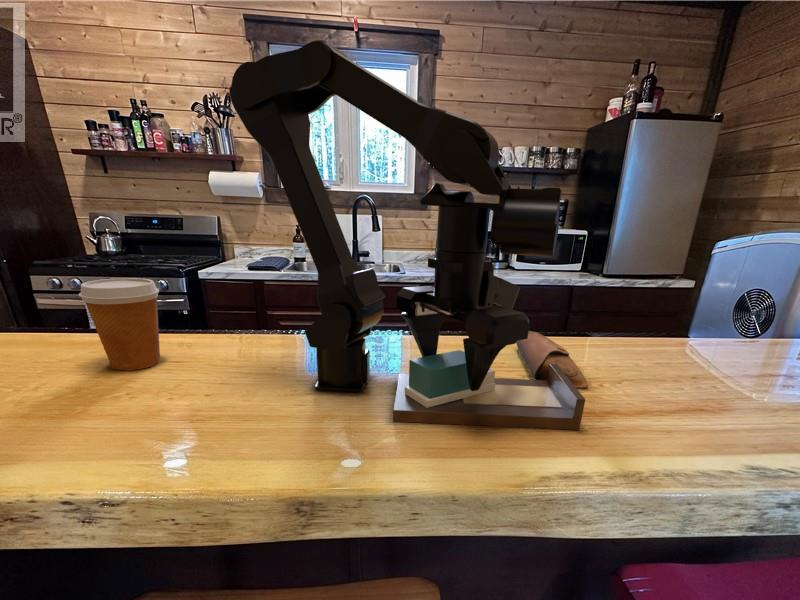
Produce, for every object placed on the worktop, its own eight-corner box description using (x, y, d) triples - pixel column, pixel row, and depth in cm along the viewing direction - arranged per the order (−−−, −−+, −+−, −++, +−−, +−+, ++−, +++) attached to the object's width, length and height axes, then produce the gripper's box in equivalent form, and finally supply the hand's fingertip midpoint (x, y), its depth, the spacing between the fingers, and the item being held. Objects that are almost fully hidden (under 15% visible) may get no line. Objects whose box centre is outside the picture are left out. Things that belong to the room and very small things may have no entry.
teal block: (426, 408, 51) (428, 372, 49) (404, 393, 55) (404, 359, 53) (495, 390, 57) (498, 356, 55) (470, 377, 61) (473, 346, 59)
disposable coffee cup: (184, 361, 67) (171, 283, 62) (118, 379, 59) (96, 291, 55) (151, 349, 71) (136, 275, 67) (85, 364, 64) (63, 282, 59)
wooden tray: (392, 421, 51) (393, 390, 49) (399, 383, 62) (399, 356, 61) (579, 430, 51) (585, 399, 49) (552, 390, 62) (556, 364, 60)
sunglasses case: (593, 386, 62) (576, 346, 60) (547, 406, 64) (529, 368, 62) (561, 348, 79) (547, 317, 77) (525, 365, 81) (511, 334, 79)
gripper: (574, 258, 46) (550, 391, 52) (463, 242, 61) (455, 348, 66) (498, 261, 40) (481, 411, 46) (395, 243, 55) (393, 359, 61)
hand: (451, 377), depth 55 cm, fingers open, 9 cm apart
